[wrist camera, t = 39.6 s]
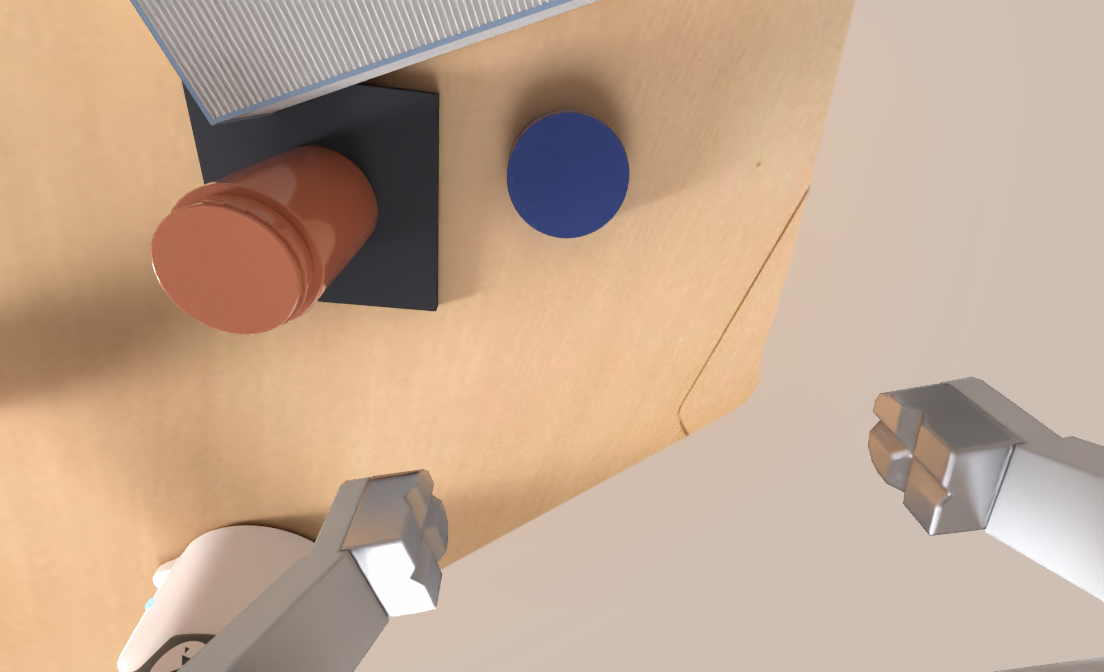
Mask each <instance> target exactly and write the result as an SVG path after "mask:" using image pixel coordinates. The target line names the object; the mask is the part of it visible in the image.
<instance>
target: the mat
mask: <svg viewBox="0 0 1104 672" xmlns="http://www.w3.org/2000/svg"><path fill="white" fill-rule="evenodd" d="M182 84H183V89H184V93H185V98H186V102H187V107H188V112H189V116H190V121H191V125H192V130H193V134H194V139H195V143H196V148H197V152H198V157H199V162H200V166H201V171H202V175H203V180H204V184H208V183H210V182H212V181H215V180H217V179H219V178H222V177H224V176H226V175H229V174H231V173H233V172H236V171H238V170H241V169H243V168H245V167H248V166H250V165H252V164H255V163H257V162H259V161H262V160H264V159H267V158H269V157H271V156H274V155H276V154H278V153H281V152H283V151H285V150H288V149H290V148H293V147H297V146H304V145H312V146H320V147H324V148H327V149H331V150H333V151H335V152H337V153H339V154H341V155H343V156H344V157H346V158H347V159H349V160H350V161H351V162H353V163H354V164H355V165H356V166H357V167H358V168H359V169H360V170H361V171H362V173H363V174H364V175H365V177H366V178H367V179H368V181H369V183H370V185H371V187H372V189H373V191H374V194H375V197H376V201H377V209H378V215H377V223H376V226H375V229H374V231H373V233H372V235H371V237H370V238H369V239H368V241H367V242H366V243H365V244H364V245H363V247H362V248H361V249H360V250H359V251H358V253H357V254H356V255H355V256H354V257H353V259H352V260H351V261H350V262H349V263H348V264H347V266H346V267H345V268H344V269H343V270H342V272H341V273H340V274H339V275H338V276H337V278H336V279H335V280H334V281H333V282H332V284H331V285H330V286H329V287H328V288H327V289H326V291H325V292H324V293H323V294H322V295H321V297H320V298H319V299H318V300H317V301H320V302H332V303H344V304H355V305H367V306H379V307H390V308H402V309H414V310H426V311H436V310H437V307H438V197H439V93H435V92H427V91H419V90H411V89H403V88H395V87H387V86H378V85H370V84H362V83H357V84H354V85H351V86H348V87H346V88H343V89H340V90H337V91H334V92H331V93H328V94H325V95H322V96H319V97H316V98H313V99H311V100H308V101H305V102H302V103H299V104H296V105H293V106H290V107H287V108H284V109H281V110H279V111H276V112H273V113H274V114H272V115H268V116H262V117H257V118H251V119H245V120H239V121H233V122H227V123H222V124H216V125H211V124H210V123H209V121H208V120H207V118H206V117H205V115H204V113H203V112H202V110H201V109H200V107H199V106H198V104H197V103H196V101H195V100H194V98H193V97H192V95H191V93H190V92H189V90H188V89H187V87H186V86H185V84H184V83H183V81H182Z"/></svg>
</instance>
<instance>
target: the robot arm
mask: <svg viewBox="0 0 1104 672" xmlns="http://www.w3.org/2000/svg"><path fill="white" fill-rule="evenodd" d="M873 412H874V413H875V415H876V416H877V417H878V418H879V419H880V421H879V422H878V423H877V424H876V425H875V426H874V427H873V428H872V430H871V431H870V434H869V442H868V448H869V451H870V456H871V460H872V462H873V464H874V466H875V468H876V470H877V472H878V473H879V475H880V476H881V477H882V478H883V480H884V481H885V482H886V483H887V484H889V485H891V486H893V487H895V488H897V489H899V490H901V491H903V492H904V500H903V504H904V505H905V507H906V508H907V509H908V510H909V511H910V513H911V514H912V515H913V516H914V517H915V518H916V520H917V521H918V522H919V523H920V524H921V526H922V527H923V528H924V529H925V530H926V532H927V533H928V534H929V535H930V536H933V535H941V534H948V533H957V532H966V531H974V530H982V529H986V530H985V532H986V533H988V534H989V535H991V536H993V537H995V538H996V539H998V540H1000V541H1001V542H1003V543H1005V544H1007V545H1008V546H1010V547H1012V548H1013V549H1015V550H1017V551H1019V552H1020V553H1022V554H1024V555H1025V556H1027V557H1029V558H1031V559H1032V560H1034V561H1036V562H1037V563H1039V564H1041V565H1042V566H1044V567H1046V568H1048V569H1049V570H1051V571H1053V572H1054V573H1056V574H1058V575H1060V576H1061V577H1063V578H1065V579H1066V580H1068V581H1070V582H1072V583H1073V584H1075V585H1077V586H1078V587H1080V588H1082V589H1084V590H1085V591H1087V592H1089V593H1090V594H1092V595H1094V596H1095V597H1097V598H1099V599H1101V600H1102V601H1104V446H1101V445H1097V444H1094V443H1091V442H1088V441H1085V440H1082V439H1079V438H1076V437H1073V436H1072V437H1066V438H1062V437H1060V436H1059V435H1057V434H1056V433H1054V432H1053V431H1052V430H1050V429H1049V428H1048V427H1046V426H1045V425H1043V424H1042V423H1040V422H1039V421H1038V420H1037V419H1035V418H1034V417H1033V416H1031V415H1030V414H1028V413H1027V412H1026V411H1024V410H1023V409H1021V408H1020V407H1019V406H1017V405H1016V404H1015V403H1013V402H1012V401H1010V400H1009V399H1007V398H1006V397H1005V396H1003V395H1002V394H1001V393H999V392H998V391H997V390H995V389H994V388H992V387H991V386H989V385H988V384H987V383H985V382H984V381H983V380H980V379H977V378H974V377H968V378H962V379H957V380H952V381H946V382H941V383H939V384H932V385H926V386H920V387H914V388H909V389H903V390H897V391H891V392H886V393H880V394H879V396H878V397H877V399H876V400H875V404H874V409H873ZM433 487H434V482H433V480H432V478H431V476H430V474H429V472H428V471H427V470H424V469H421V470H414V471H407V472H400V473H393V474H386V475H379V476H372V477H369V478H361V479H354V480H347V481H345V482H344V483H343V484H342V485H341V486H340V487H339V489H338V492H337V494H336V496H335V498H334V501H333V503H332V505H331V507H330V510H329V512H328V514H327V516H326V519H325V521H324V523H323V525H322V528H321V530H320V532H319V534H318V537H317V539H316V541H315V543H314V542H312V541H310V540H308V539H306V538H304V537H302V536H299V535H297V534H294V533H291V532H288V531H284V530H280V529H276V528H270V527H263V526H251V525H241V526H230V527H224V528H219V529H215V530H212V531H209V532H207V533H205V534H203V535H201V536H199V537H197V538H196V539H195V540H193V541H192V542H191V543H190V544H189V545H188V547H187V548H186V550H185V551H184V552H183V554H182V555H181V556H180V557H178V558H176V559H174V560H171V561H169V562H167V563H165V564H163V565H161V566H160V567H159V568H158V570H157V571H156V573H155V575H154V577H153V583H154V584H155V586H156V587H157V588H158V590H157V592H156V594H155V596H154V597H153V599H150V600H149V601H148V603H147V604H146V605H145V608H146V611H145V613H144V615H143V616H142V618H141V620H140V621H139V623H138V625H137V627H136V628H135V630H134V632H133V634H132V635H131V637H130V639H129V641H128V642H127V644H126V646H125V648H124V649H123V651H122V653H121V655H120V657H119V659H118V663H117V667H118V668H119V672H354V670H355V669H356V667H357V666H358V665H359V663H360V661H361V660H362V659H363V657H364V656H365V655H366V653H367V652H368V650H369V649H370V647H371V646H372V645H373V643H374V642H375V640H376V639H377V637H378V636H379V634H380V633H381V632H382V630H383V629H384V627H385V626H386V624H387V623H388V621H389V619H388V618H390V617H396V616H401V615H407V614H413V613H418V612H423V611H429V610H435V609H436V606H437V601H438V595H439V589H440V583H441V578H442V573H441V571H440V568H439V566H438V564H437V562H438V561H439V560H440V558H441V557H442V556H443V555H444V554H445V552H446V548H447V541H448V522H447V517H446V513H445V509H444V506H443V504H442V501H441V500H439V499H438V498H436V497H435V496H433V495H432V491H433ZM994 672H1104V657H1100V658H1093V659H1085V660H1077V661H1070V662H1062V663H1055V664H1047V665H1040V666H1032V667H1025V668H1017V669H1009V670H1002V671H994Z"/></svg>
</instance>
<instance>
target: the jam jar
mask: <svg viewBox="0 0 1104 672" xmlns="http://www.w3.org/2000/svg"><path fill="white" fill-rule="evenodd" d="M377 215H378V209H377V201H376V197H375V194H374V191H373V189H372V187H371V185H370V183H369V181H368V179H367V178H366V177H365V175H364V174H363V173H362V171H361V170H360V169H359V168H358V167H357V166H356V165H355V164H354V163H353V162H351V161H350V160H349V159H347V158H346V157H344V156H343V155H341V154H339V153H337V152H335V151H333V150H331V149H327V148H324V147H320V146H312V145H304V146H297V147H293V148H290V149H288V150H285V151H283V152H281V153H278V154H276V155H274V156H271V157H269V158H267V159H264V160H262V161H259V162H257V163H255V164H252V165H250V166H248V167H245V168H243V169H241V170H238V171H236V172H233V173H231V174H229V175H226V176H224V177H222V178H219V179H217V180H215V181H212V182H210V183H208V184H205V185H203V186H200V187H198V188H196V189H193V190H192V191H190V192H188V193H187V194H185V195H184V196H183V197H182V198H181V199H180V200H178V202H177V203H176V204H175V206H174V207H173V209H172V211H171V213H170V214H169V215H167V216H166V217H165V218H164V219H163V220H162V221H161V223H160V224H159V225H158V227H157V229H156V231H155V233H154V235H153V239H152V243H151V260H152V264H153V268H154V271H155V274H156V276H157V278H158V280H159V282H160V284H161V286H162V287H163V289H164V290H165V292H166V293H167V294H168V296H169V297H170V298H171V299H172V300H173V301H174V302H175V303H176V304H177V305H178V306H179V307H180V308H181V309H182V310H184V311H185V312H186V313H187V314H189V315H190V316H192V317H193V318H195V319H196V320H198V321H200V322H202V323H203V324H206V325H208V326H210V327H212V328H215V329H218V330H221V331H225V332H229V333H236V334H257V333H262V332H266V331H269V330H272V329H274V328H276V327H278V326H280V325H282V324H284V323H287V322H288V321H290V320H293V319H295V318H297V317H299V316H301V315H303V314H304V313H305V312H307V311H308V310H309V309H310V308H311V307H312V306H313V305H314V304H315V303H316V301H317V300H318V299H319V298H320V297H321V295H322V294H323V293H324V292H325V291H326V289H327V288H328V287H329V286H330V285H331V284H332V282H333V281H334V280H335V279H336V278H337V276H338V275H339V274H340V273H341V272H342V270H343V269H344V268H345V267H346V266H347V264H348V263H349V262H350V261H351V260H352V259H353V257H354V256H355V255H356V254H357V253H358V251H359V250H360V249H361V248H362V247H363V245H364V244H365V243H366V242H367V241H368V239H369V238H370V237H371V235H372V233H373V231H374V229H375V226H376V223H377Z"/></svg>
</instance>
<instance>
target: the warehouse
mask: <svg viewBox="0 0 1104 672" xmlns="http://www.w3.org/2000/svg"><path fill="white" fill-rule="evenodd" d="M130 1H131V3H132V4H133V6H134V7H135V9H136V10H137V12H138V14H139V15H140V17H141V18H142V20H143V21H144V23H145V24H146V26H147V27H148V29H149V30H150V32H151V33H152V35H153V37H154V38H155V40H156V41H157V43H158V44H159V46H160V47H161V49H162V50H163V52H164V53H165V55H166V57H167V58H168V60H169V61H170V63H171V64H172V66H173V67H174V69H175V70H176V72H177V73H178V75H179V77H180V78H181V80H182V81H183V83H184V84H185V86H186V87H187V89H188V90H189V92H190V93H191V95H192V97H193V98H194V100H195V101H196V103H197V104H198V106H199V107H200V109H201V110H202V112H203V113H204V115H205V117H206V118H207V120H208V121H209V123H210V124H211V125H216V124H222V123H227V122H233V121H239V120H245V119H251V118H257V117H262V116H268V115H272V114H274V113H273V112H276V111H279V110H281V109H284V108H287V107H290V106H293V105H296V104H299V103H302V102H305V101H308V100H311V99H313V98H316V97H319V96H322V95H325V94H328V93H331V92H334V91H337V90H340V89H343V88H346V87H348V86H351V85H354V84H357V83H360V82H363V81H366V80H369V79H372V78H375V77H378V76H380V75H383V74H386V73H389V72H392V71H395V70H398V69H401V68H404V67H407V66H410V65H413V64H415V63H418V62H421V61H424V60H427V59H430V58H433V57H436V56H439V55H442V54H445V53H447V52H450V51H453V50H456V49H459V48H462V47H465V46H468V45H471V44H474V43H477V42H480V41H482V40H485V39H488V38H491V37H494V36H497V35H500V34H503V33H506V32H509V31H512V30H514V29H517V28H520V27H523V26H526V25H529V24H532V23H535V22H538V21H541V20H544V19H547V18H549V17H552V16H555V15H558V14H561V13H564V12H567V11H570V10H573V9H576V8H579V7H581V6H584V5H587V4H590V3H593V2H596V1H599V0H130Z"/></svg>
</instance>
